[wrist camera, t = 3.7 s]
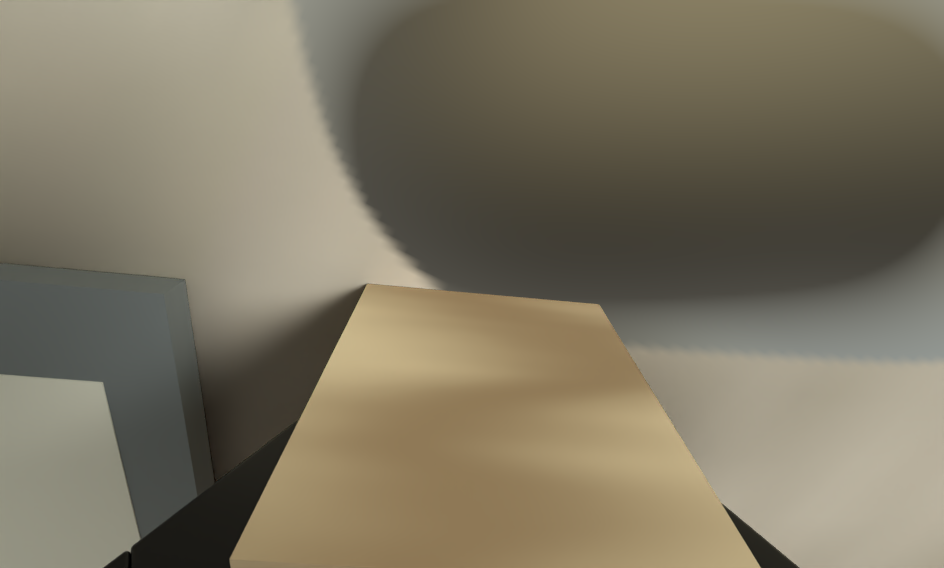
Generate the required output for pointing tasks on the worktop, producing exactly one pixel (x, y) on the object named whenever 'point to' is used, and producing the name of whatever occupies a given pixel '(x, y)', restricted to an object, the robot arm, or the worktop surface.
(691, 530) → the oak block
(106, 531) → the grey framed square tile
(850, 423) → the worktop surface
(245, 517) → the robot arm
